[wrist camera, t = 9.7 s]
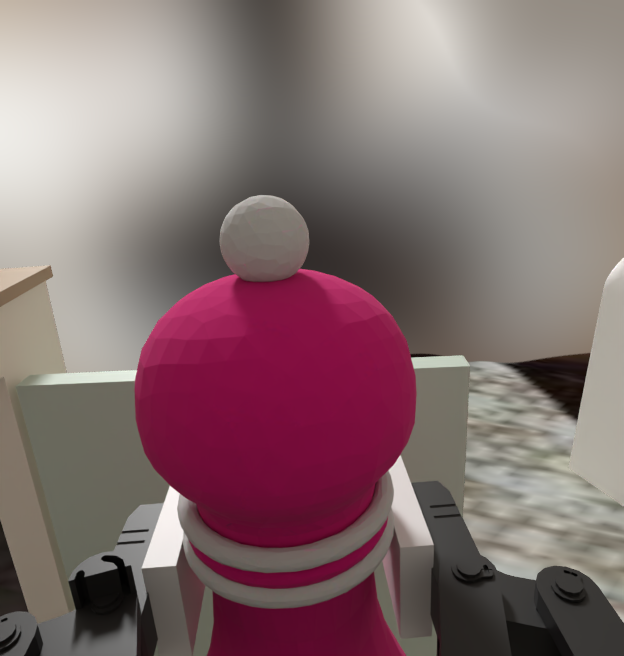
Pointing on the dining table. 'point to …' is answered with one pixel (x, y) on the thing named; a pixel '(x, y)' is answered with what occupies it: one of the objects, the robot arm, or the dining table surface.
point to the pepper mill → (280, 441)
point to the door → (150, 488)
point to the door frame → (28, 440)
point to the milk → (604, 398)
